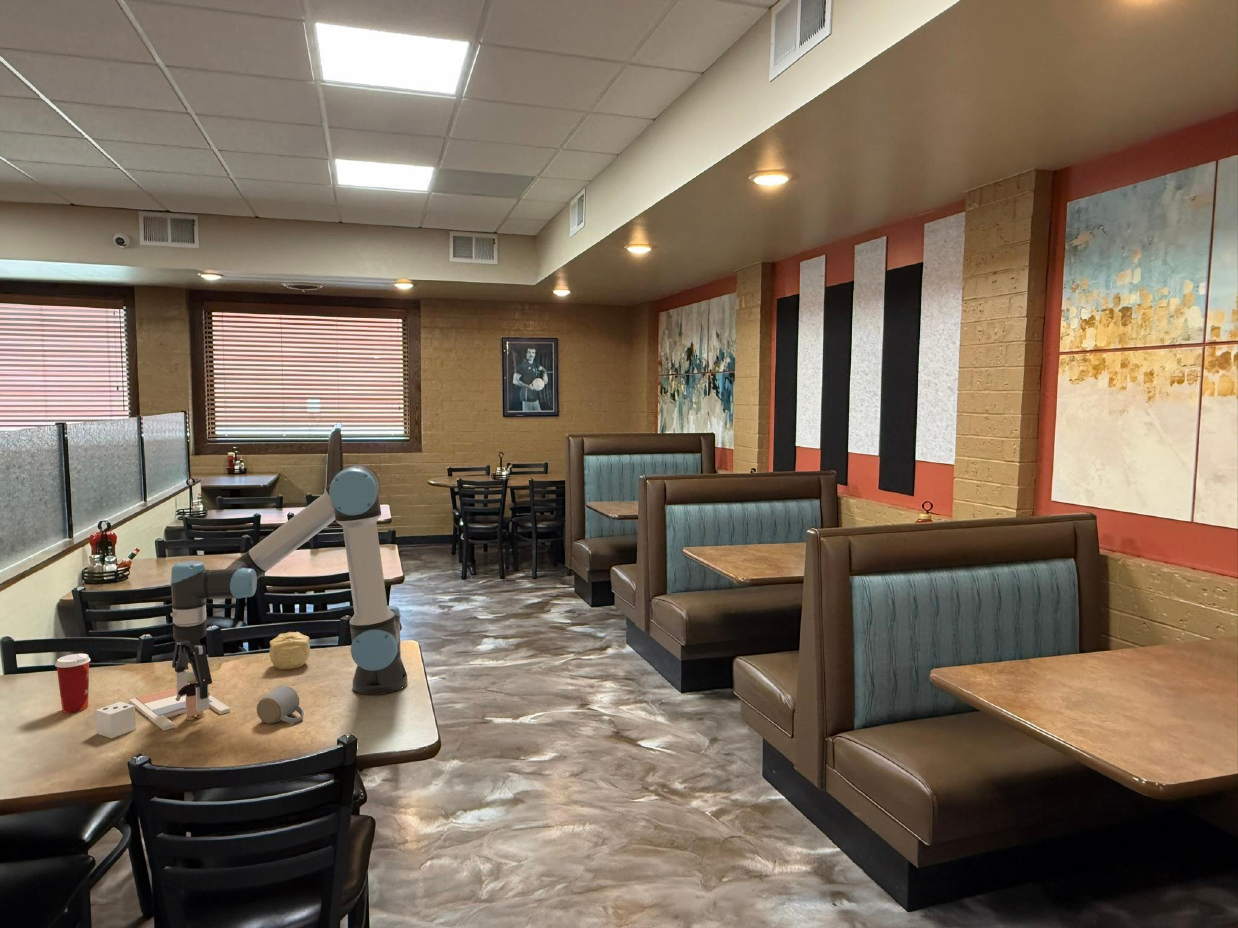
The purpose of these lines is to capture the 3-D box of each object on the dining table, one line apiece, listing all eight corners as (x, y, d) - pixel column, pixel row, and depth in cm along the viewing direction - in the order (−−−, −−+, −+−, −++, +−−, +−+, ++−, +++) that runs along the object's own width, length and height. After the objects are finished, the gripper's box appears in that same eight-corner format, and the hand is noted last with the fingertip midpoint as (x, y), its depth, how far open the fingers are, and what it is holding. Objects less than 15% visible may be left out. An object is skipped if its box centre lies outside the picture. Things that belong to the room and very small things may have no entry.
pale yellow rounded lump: (270, 674, 234) (269, 639, 233) (269, 662, 245) (268, 628, 244) (311, 669, 239) (310, 635, 238) (309, 657, 250) (308, 624, 249)
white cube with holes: (136, 729, 195) (135, 705, 195) (111, 738, 190) (110, 713, 189) (121, 724, 198) (120, 701, 197) (96, 733, 193) (95, 709, 192)
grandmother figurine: (206, 711, 207) (205, 664, 205) (211, 715, 204) (210, 668, 203) (174, 719, 201) (172, 671, 200) (179, 724, 198) (177, 675, 197)
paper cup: (99, 706, 210) (96, 655, 208) (69, 716, 203) (66, 664, 201) (81, 701, 213) (78, 651, 212) (50, 711, 206) (47, 659, 205)
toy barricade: (230, 711, 206) (230, 707, 206) (163, 730, 195) (163, 725, 194) (192, 687, 224) (192, 682, 224) (129, 702, 212) (129, 698, 212)
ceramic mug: (254, 724, 199) (253, 694, 198) (274, 711, 207) (273, 683, 206) (292, 728, 197) (291, 698, 196) (310, 715, 205) (310, 687, 204)
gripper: (156, 615, 206) (159, 694, 208) (192, 635, 189) (195, 720, 191) (187, 610, 211) (190, 686, 213) (224, 629, 195) (227, 711, 197)
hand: (192, 702), depth 202 cm, fingers open, 13 cm apart
